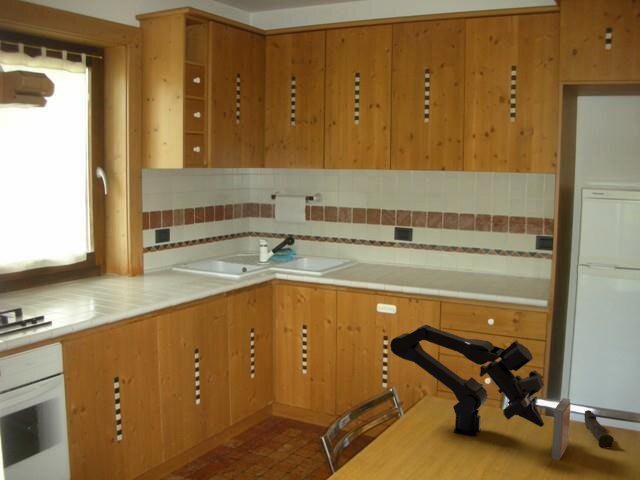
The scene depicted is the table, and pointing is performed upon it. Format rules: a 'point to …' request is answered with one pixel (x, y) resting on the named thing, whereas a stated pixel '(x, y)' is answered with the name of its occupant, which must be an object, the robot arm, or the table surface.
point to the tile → (561, 428)
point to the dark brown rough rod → (597, 430)
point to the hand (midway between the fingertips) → (542, 425)
